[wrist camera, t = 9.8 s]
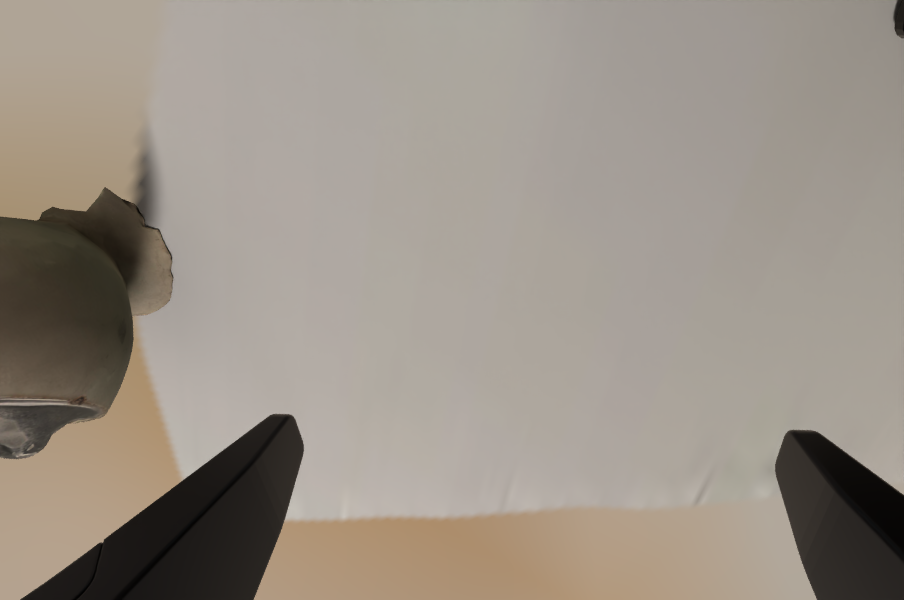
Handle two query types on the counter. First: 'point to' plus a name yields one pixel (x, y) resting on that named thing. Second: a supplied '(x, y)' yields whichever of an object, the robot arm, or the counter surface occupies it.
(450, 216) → the counter surface
